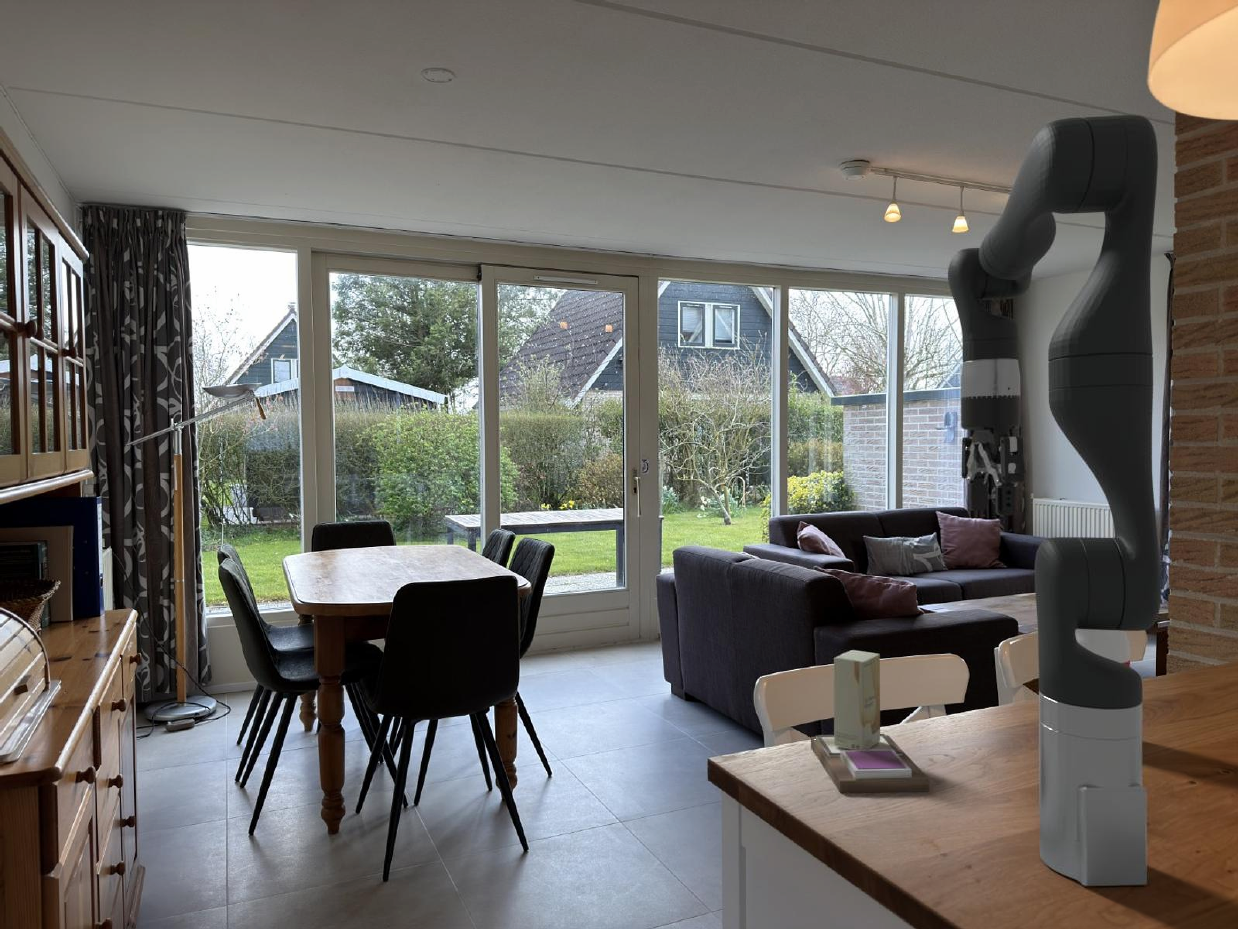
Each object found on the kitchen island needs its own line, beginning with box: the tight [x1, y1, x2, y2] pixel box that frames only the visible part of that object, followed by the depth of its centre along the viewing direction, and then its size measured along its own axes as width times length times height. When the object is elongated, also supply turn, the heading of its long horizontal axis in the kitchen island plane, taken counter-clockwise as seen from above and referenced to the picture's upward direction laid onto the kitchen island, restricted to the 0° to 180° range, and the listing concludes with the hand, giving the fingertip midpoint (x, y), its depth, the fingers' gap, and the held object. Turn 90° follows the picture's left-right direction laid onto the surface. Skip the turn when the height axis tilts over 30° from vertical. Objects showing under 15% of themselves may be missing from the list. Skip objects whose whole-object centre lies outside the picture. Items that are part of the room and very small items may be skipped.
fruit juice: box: [1075, 629, 1131, 667], centre depth 124 cm, size 9×9×28 cm
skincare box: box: [833, 649, 881, 751], centre depth 119 cm, size 6×4×12 cm
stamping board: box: [810, 733, 930, 794], centre depth 115 cm, size 16×11×3 cm
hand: (991, 512), depth 120 cm, fingers open, 8 cm apart
